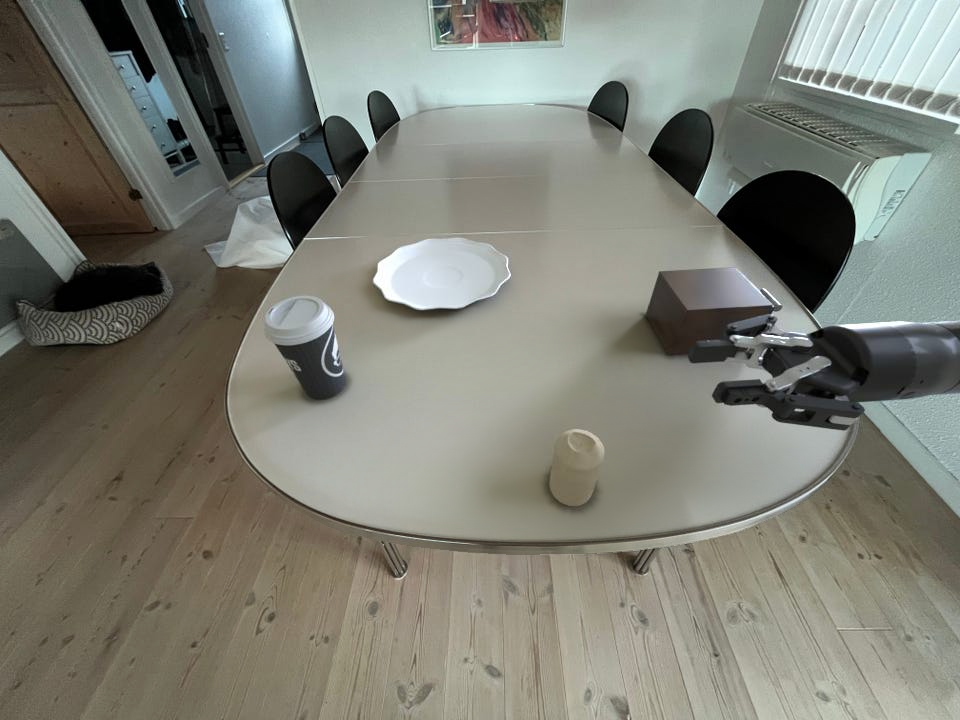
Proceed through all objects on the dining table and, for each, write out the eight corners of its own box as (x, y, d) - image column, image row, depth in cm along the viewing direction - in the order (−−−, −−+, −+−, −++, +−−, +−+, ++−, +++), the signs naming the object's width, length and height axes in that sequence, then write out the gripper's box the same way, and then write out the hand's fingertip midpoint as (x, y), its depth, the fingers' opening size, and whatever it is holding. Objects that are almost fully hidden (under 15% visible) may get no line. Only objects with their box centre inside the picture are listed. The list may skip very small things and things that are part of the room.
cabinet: (715, 310, 78) (734, 266, 72) (747, 350, 70) (773, 305, 63) (645, 314, 78) (659, 271, 71) (669, 355, 70) (687, 310, 63)
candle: (594, 473, 54) (608, 426, 47) (590, 511, 50) (605, 467, 43) (552, 464, 55) (560, 417, 48) (546, 501, 51) (553, 456, 44)
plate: (536, 288, 86) (537, 278, 84) (410, 337, 75) (408, 327, 73) (466, 235, 104) (466, 226, 103) (357, 269, 94) (355, 260, 92)
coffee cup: (323, 358, 71) (294, 286, 61) (367, 374, 68) (344, 301, 58) (282, 395, 65) (242, 322, 55) (328, 415, 62) (295, 341, 52)
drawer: (744, 307, 77) (762, 271, 72) (776, 342, 70) (799, 305, 64) (659, 312, 77) (671, 276, 72) (682, 348, 69) (698, 311, 64)
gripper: (847, 287, 42) (683, 297, 41) (979, 389, 31) (762, 403, 31) (808, 342, 47) (663, 351, 47) (911, 446, 36) (724, 458, 36)
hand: (704, 372), depth 39 cm, fingers open, 4 cm apart
